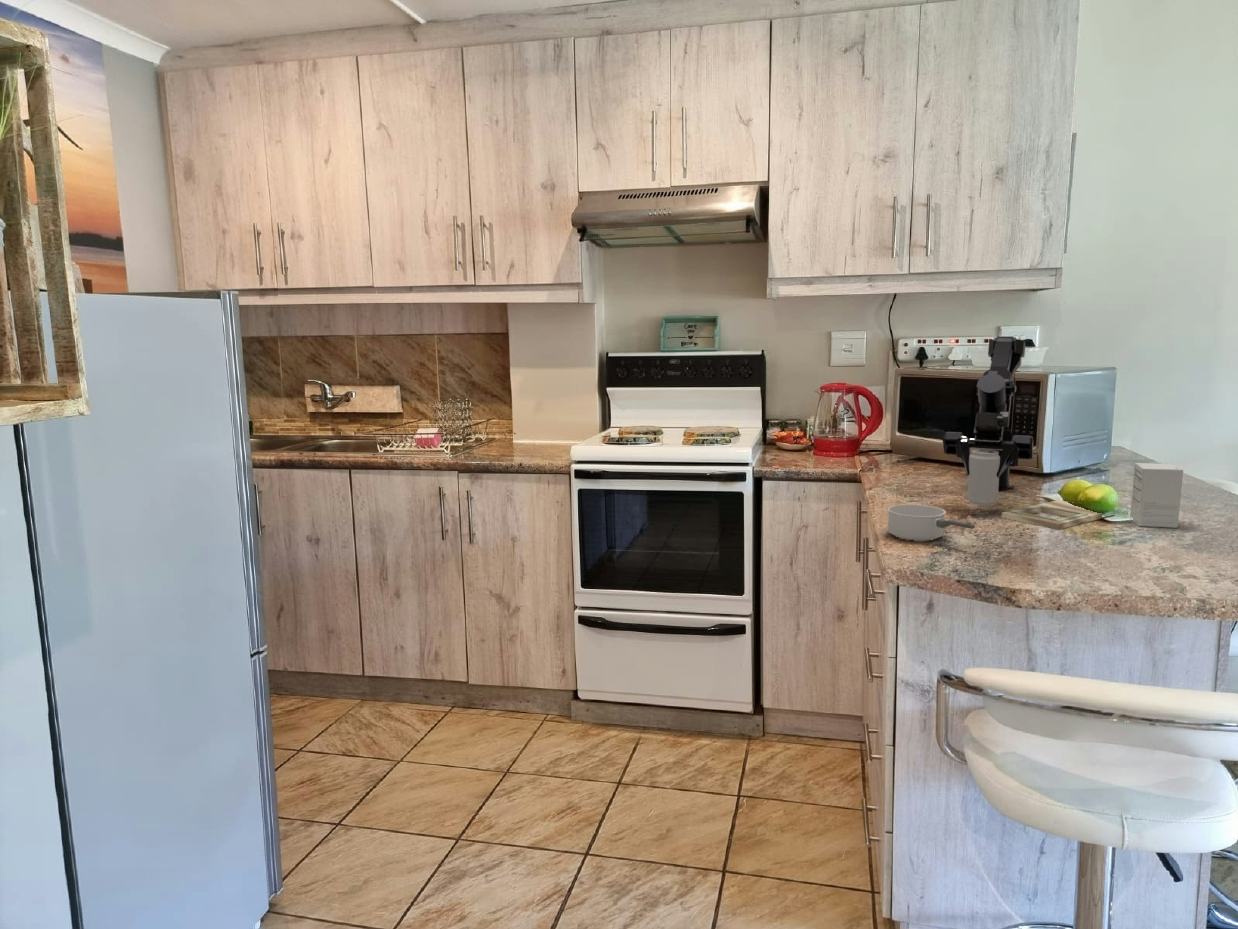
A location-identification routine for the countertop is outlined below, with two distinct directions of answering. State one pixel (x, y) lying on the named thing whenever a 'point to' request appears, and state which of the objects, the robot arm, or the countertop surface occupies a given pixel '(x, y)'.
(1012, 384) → the robot arm
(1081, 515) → the board
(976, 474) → the beverage can
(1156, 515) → the supplement box
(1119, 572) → the countertop surface
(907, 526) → the saucepan
